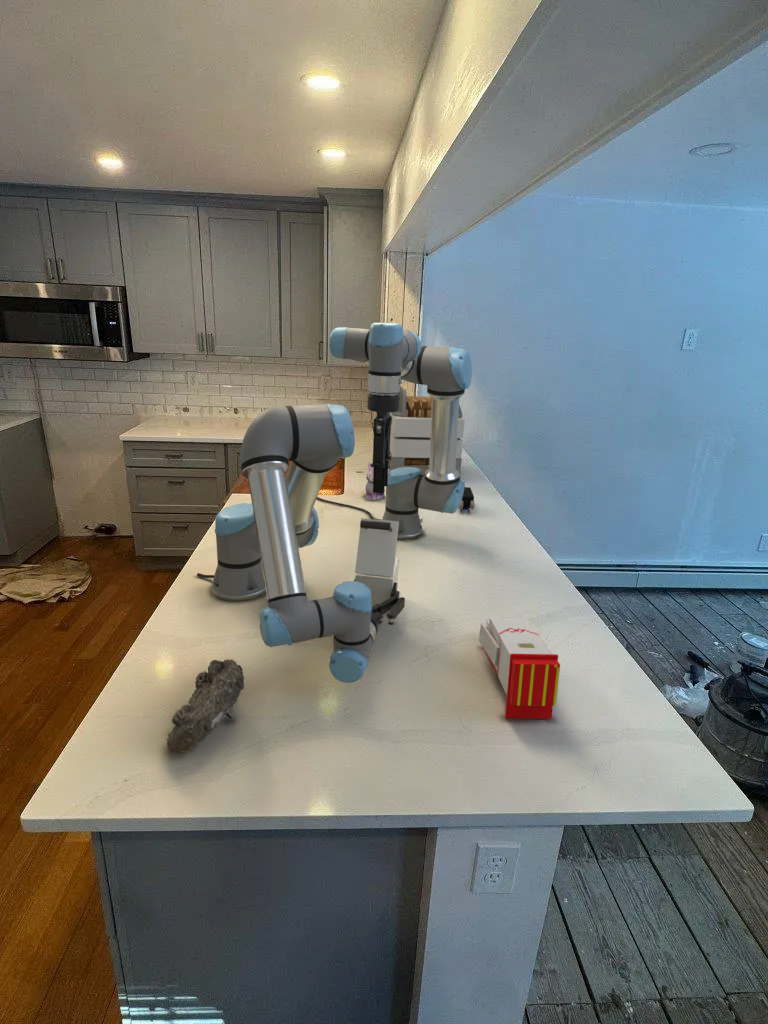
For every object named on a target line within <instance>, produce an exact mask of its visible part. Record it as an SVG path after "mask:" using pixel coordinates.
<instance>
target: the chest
mask: <svg viewBox="0 0 768 1024" xmlns="http://www.w3.org/2000/svg"><path fill="white" fill-rule="evenodd" d="M399 567H400V556H395V564H394V574H393V577H388V576H378V575H369V574H359V573H355V575H354V580H355V582H360V583H363V584H365V585H366V586H367V587H368V588H369V589H370V591H371V599H372V607H373V606H375V605H376V604H381V603H382V602H384V601H386V600H387V599H389V598H391V592H392V589H393V585H394V582H395V583H397V588H398V584H399ZM388 612H389V611H388ZM386 614H387V613H385V614H384V615H382V616H385V615H386Z"/></svg>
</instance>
